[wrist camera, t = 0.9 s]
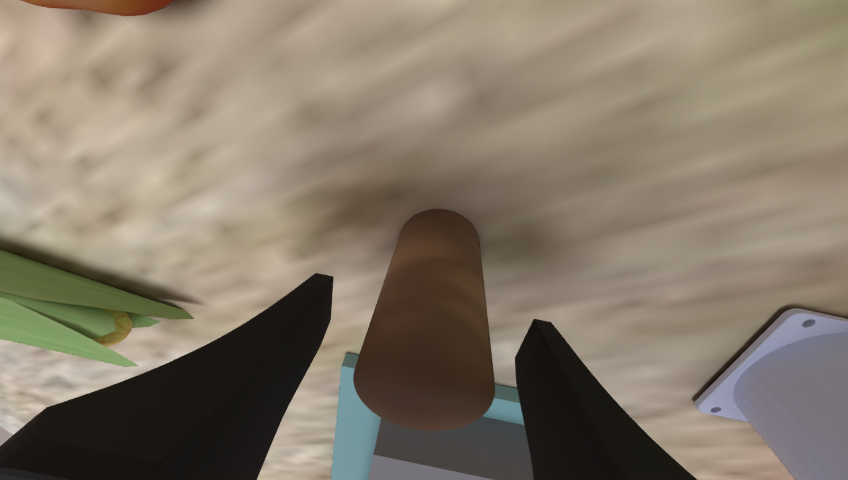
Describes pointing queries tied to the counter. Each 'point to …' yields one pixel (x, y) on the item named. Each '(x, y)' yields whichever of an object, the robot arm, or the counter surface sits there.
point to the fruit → (106, 5)
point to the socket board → (367, 422)
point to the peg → (430, 330)
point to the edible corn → (70, 310)
